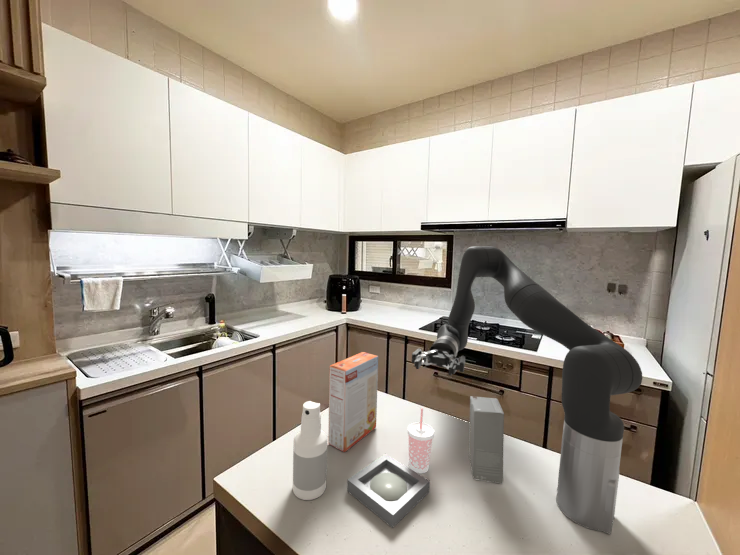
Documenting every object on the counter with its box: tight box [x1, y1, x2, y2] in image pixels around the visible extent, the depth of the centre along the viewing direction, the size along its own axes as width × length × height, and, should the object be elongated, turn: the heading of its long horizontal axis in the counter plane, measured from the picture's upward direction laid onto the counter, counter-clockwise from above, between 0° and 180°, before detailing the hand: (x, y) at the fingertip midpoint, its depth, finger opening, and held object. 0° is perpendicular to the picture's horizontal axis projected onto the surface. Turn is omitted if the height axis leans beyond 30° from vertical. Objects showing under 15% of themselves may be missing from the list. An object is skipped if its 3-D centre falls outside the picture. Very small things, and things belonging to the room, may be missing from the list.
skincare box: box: [468, 395, 505, 484], centre depth 72 cm, size 8×7×16 cm
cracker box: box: [327, 351, 379, 453], centre depth 82 cm, size 14×6×21 cm, turn 144°
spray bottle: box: [292, 400, 328, 501], centre depth 64 cm, size 7×7×18 cm
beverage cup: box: [407, 407, 435, 474], centre depth 72 cm, size 6×6×14 cm
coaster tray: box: [346, 453, 431, 529], centre depth 64 cm, size 12×12×2 cm
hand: (433, 368), depth 81 cm, fingers open, 8 cm apart
